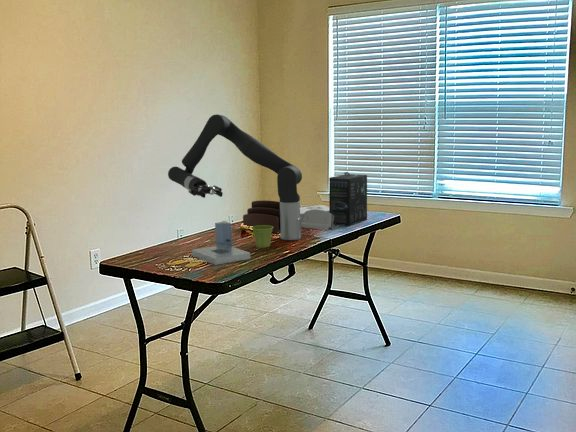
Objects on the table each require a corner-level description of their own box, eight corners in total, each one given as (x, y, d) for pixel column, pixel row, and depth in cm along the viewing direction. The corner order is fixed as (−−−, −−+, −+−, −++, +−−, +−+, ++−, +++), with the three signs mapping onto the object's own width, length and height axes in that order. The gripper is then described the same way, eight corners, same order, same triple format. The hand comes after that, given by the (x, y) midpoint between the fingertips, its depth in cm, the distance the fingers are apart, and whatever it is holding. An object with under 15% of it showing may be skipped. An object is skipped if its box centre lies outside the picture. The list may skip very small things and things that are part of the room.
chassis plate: (191, 255, 263) (191, 249, 262) (225, 250, 272) (225, 244, 271) (215, 265, 246) (214, 258, 246) (250, 258, 255) (250, 252, 255)
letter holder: (252, 226, 324) (252, 199, 322) (287, 229, 315) (287, 201, 313) (242, 230, 315) (242, 202, 313) (278, 233, 306) (277, 204, 304)
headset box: (347, 217, 344) (347, 169, 339) (367, 219, 338) (368, 170, 333) (328, 224, 325) (328, 174, 320) (349, 226, 319) (349, 175, 314)
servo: (215, 247, 277) (213, 220, 275) (224, 246, 279) (222, 219, 278) (226, 250, 269) (224, 222, 267) (235, 249, 271) (233, 221, 270)
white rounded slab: (269, 219, 346) (268, 210, 346) (322, 213, 360) (322, 205, 359) (283, 224, 329) (283, 215, 329) (338, 219, 343) (338, 209, 342)
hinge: (299, 227, 320) (302, 207, 321) (304, 228, 324) (307, 209, 325) (328, 230, 311) (331, 209, 312) (333, 231, 315) (336, 211, 316)
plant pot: (271, 249, 272) (271, 229, 270) (250, 248, 273) (249, 229, 272) (275, 244, 281) (275, 225, 279) (254, 244, 282) (254, 225, 281)
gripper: (182, 177, 286) (199, 187, 274) (209, 176, 295) (228, 186, 283) (180, 193, 288) (198, 204, 276) (208, 192, 297) (226, 202, 285)
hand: (213, 195), depth 280 cm, fingers open, 8 cm apart
